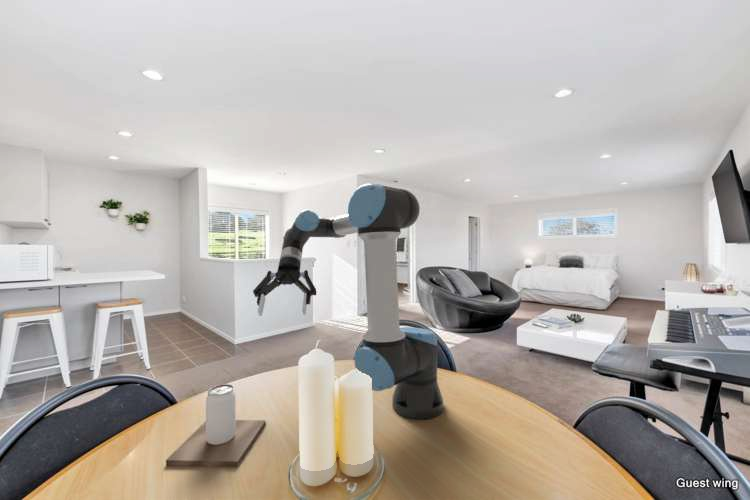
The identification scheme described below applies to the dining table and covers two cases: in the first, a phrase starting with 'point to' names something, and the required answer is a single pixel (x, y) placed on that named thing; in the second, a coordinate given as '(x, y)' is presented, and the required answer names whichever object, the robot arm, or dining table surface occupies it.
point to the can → (220, 414)
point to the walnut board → (217, 447)
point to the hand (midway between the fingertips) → (282, 312)
